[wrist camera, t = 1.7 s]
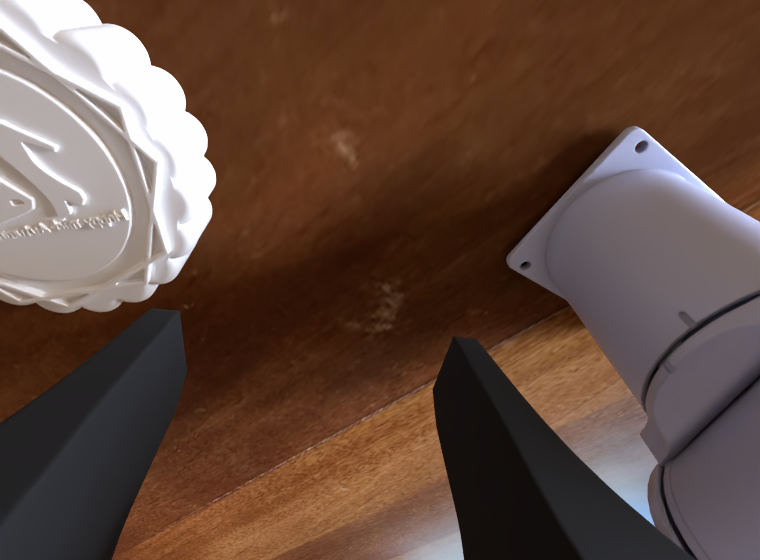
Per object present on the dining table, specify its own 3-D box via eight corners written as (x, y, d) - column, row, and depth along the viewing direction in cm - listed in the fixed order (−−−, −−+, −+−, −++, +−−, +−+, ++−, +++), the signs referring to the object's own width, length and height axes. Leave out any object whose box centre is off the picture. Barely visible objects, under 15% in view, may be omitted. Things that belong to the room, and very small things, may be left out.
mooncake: (133, -64, 13) (70, -80, 10) (255, 255, 20) (239, 301, 17) (-223, 2, 13) (-388, 5, 10) (19, 291, 20) (-37, 342, 17)
